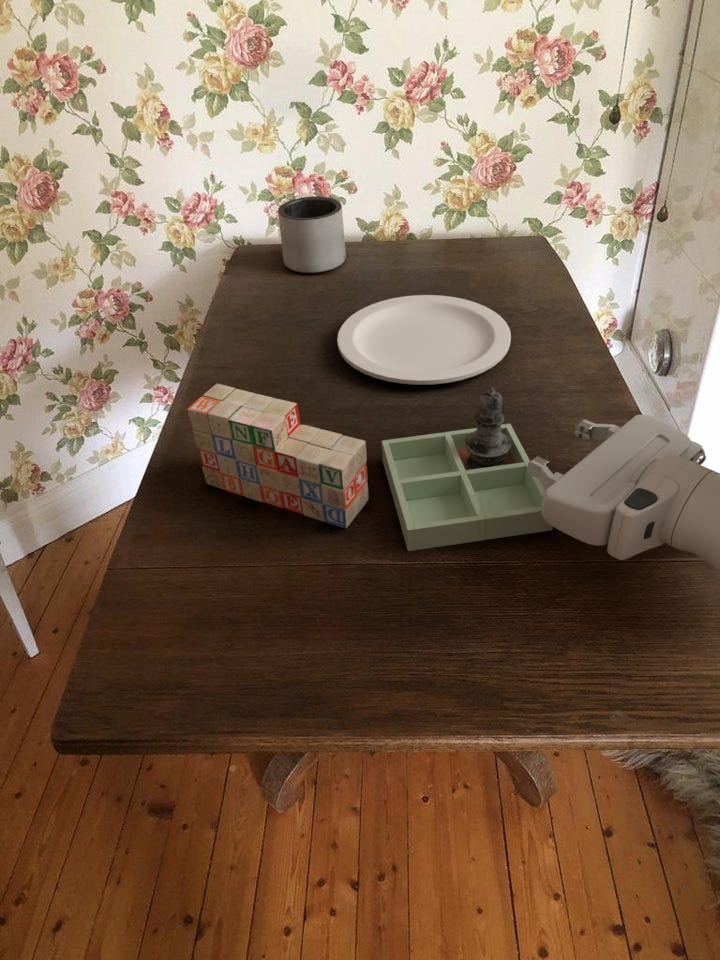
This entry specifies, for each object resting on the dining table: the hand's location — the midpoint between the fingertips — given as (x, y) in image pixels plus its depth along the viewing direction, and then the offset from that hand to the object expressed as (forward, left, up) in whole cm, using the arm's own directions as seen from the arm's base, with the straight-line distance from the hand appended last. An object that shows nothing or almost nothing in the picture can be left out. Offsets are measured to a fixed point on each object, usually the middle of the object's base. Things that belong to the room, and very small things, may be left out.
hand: (555, 445), depth 87 cm
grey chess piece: (+5, -8, -9) cm, 13 cm away
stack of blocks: (+32, -9, -9) cm, 34 cm away
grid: (+10, -4, -9) cm, 14 cm away
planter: (+21, -79, -9) cm, 82 cm away
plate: (+7, -41, -9) cm, 43 cm away
